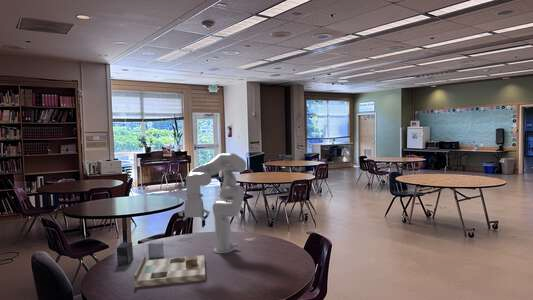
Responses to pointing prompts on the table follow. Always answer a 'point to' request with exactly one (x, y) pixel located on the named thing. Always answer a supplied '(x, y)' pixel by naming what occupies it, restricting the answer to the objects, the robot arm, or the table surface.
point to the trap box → (168, 271)
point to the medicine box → (155, 249)
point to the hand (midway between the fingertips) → (194, 227)
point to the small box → (124, 253)
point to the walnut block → (191, 261)
